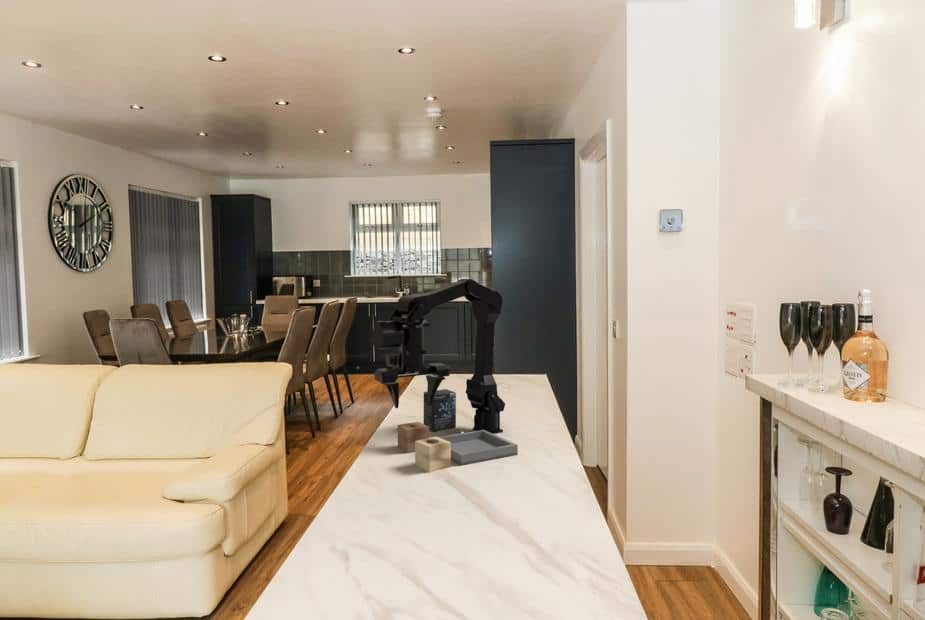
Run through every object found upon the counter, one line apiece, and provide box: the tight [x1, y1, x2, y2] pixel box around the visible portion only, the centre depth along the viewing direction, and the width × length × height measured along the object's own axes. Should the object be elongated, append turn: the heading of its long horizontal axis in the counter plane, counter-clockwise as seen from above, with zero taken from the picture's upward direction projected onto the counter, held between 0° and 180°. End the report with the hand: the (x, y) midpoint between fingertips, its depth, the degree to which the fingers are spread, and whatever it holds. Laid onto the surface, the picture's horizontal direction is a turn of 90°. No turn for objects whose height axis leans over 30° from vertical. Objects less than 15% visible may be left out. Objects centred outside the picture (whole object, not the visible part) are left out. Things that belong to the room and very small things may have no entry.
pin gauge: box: [439, 429, 467, 437], centre depth 168 cm, size 12×2×2 cm, turn 120°
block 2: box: [414, 436, 452, 473], centre depth 149 cm, size 6×6×6 cm
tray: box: [437, 430, 519, 466], centre depth 160 cm, size 16×16×2 cm
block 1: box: [397, 421, 430, 454], centre depth 162 cm, size 6×6×6 cm
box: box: [423, 388, 457, 433], centre depth 182 cm, size 8×6×11 cm
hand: (413, 405), depth 162 cm, fingers open, 9 cm apart
